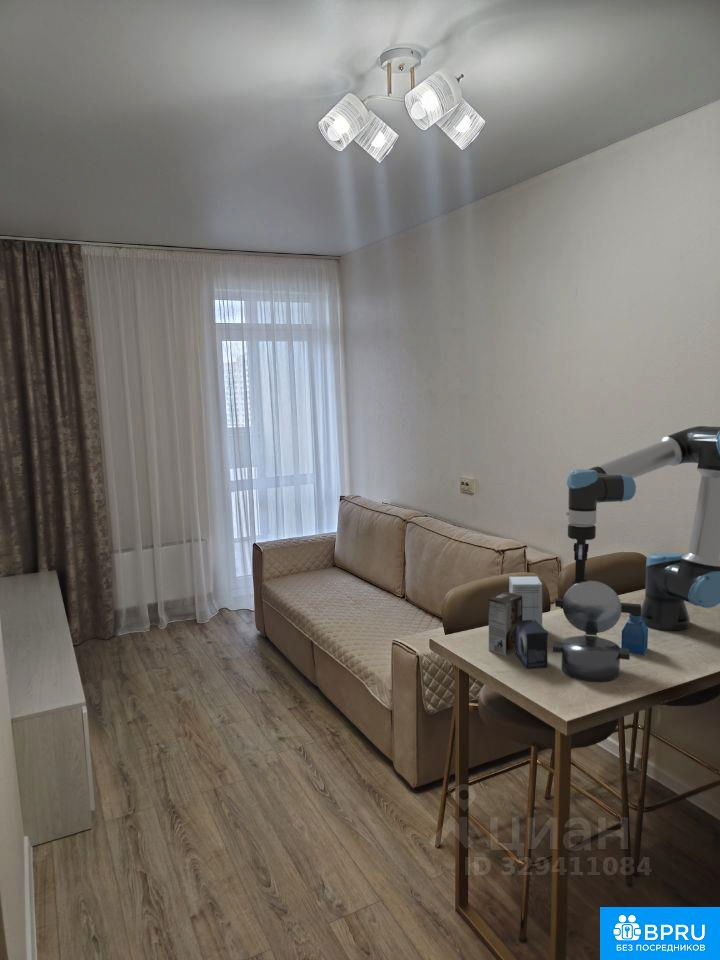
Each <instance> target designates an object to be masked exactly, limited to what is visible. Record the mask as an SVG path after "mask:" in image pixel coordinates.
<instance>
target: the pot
mask: <svg viewBox="0 0 720 960" xmlns="http://www.w3.org/2000/svg"><path fill="white" fill-rule="evenodd" d="M551 650H552V652H553V653H560V654H561V665H560V668H561V671H562V673H564V674H565V675H567V676H568V677H570V678H572V679H575V680H577V681H582V682H588V683H608V682H609V683H610V682H611V681H615V680H617V679H618V678H619V677H620V672H621V671H620V665H621V660H626V661H627V660H628V661H630V658H631V657H630V656H631V655H630V654H631V653H629V649H627V648H621V647H620V646H619V645H618V644H617V643H616V642H615V641H612V640H609V639H607V638H603V637H599V636H598V635H597V636H595V635H585V634H583V635H578V636H577V635H576V636H569V637H567V638H565V639H563V640H562V641H556V640H555V641H554V640H553V642H552V649H551Z"/></svg>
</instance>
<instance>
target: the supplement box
mask: <svg viewBox="0 0 720 960" xmlns="http://www.w3.org/2000/svg"><path fill="white" fill-rule="evenodd" d="M539 578H540V577H538V576H509V577H508V579H509V583H508V584H509V586H508V588H509V590H508V591H509V593H513V594H516V595H520V596H522V621H523V620H536V621H537V622H538V623H539V624H540V625H541V626H542V627H543V584H542V582H541V580H540V579H539Z"/></svg>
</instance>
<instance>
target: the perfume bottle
mask: <svg viewBox="0 0 720 960" xmlns="http://www.w3.org/2000/svg"><path fill="white" fill-rule="evenodd" d="M641 619H642V615H641V614H634V613H628V619H627V621H626V623H625V625H624V627H623V628H622V629H621V641H620V642H621V647H620V648H627V649H629V653H630V654H632V655H639V656H642V657H643V656H645V654H646V652H647V650H648V646H649V645H648V642H649V627H648V626H647V625H646V624H645V622H644V621H643V620H641Z"/></svg>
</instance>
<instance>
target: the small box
mask: <svg viewBox="0 0 720 960" xmlns="http://www.w3.org/2000/svg"><path fill="white" fill-rule="evenodd" d="M548 634H549V633H548V631H547V630H546V629H545V628H544V627H543V625H542V626H541V625H540V624H539V623H538V622H537V621H536V620H523V621H515V651H514V652H515V653H514V655H515V656H516V657H517V658H518V660H519V661H520V662H521V664H522V665H523V666H524V667H525V668H526V670H533V669H535V670H536V669H547V668H548V665H549V664H548V657H549V656H548V636H549V635H548Z"/></svg>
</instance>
